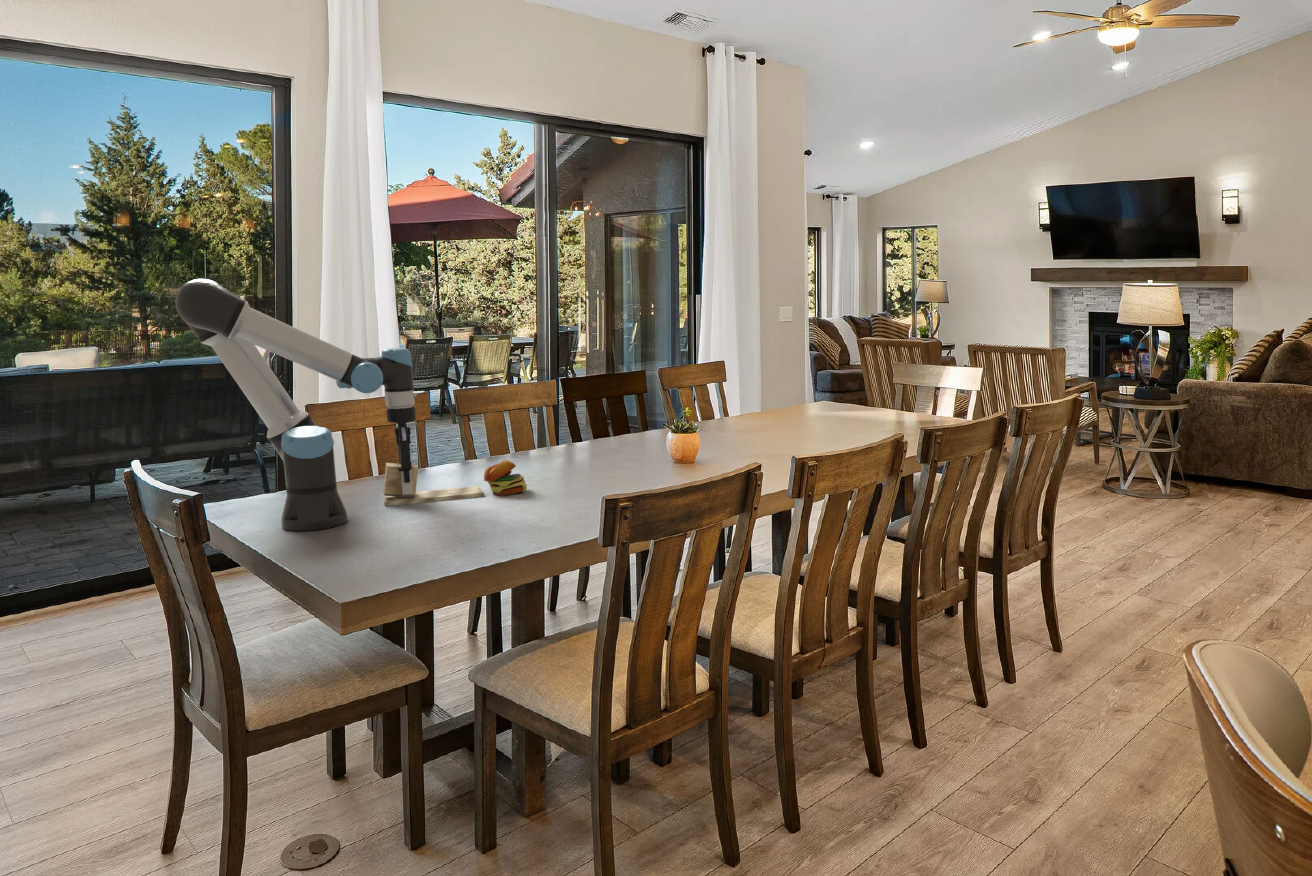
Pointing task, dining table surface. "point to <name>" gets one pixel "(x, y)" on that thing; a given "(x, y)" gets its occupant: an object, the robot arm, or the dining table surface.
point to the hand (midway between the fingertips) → (407, 491)
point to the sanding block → (398, 480)
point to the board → (435, 495)
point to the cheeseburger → (504, 479)
